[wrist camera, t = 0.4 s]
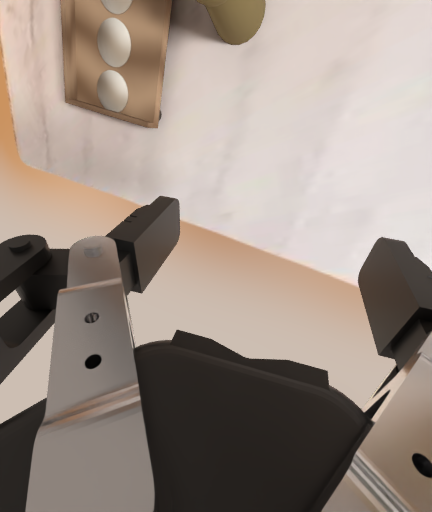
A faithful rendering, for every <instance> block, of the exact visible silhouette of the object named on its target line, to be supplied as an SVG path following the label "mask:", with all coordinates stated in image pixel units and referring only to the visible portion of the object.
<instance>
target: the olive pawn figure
mask: <svg viewBox="0 0 432 512" xmlns="http://www.w3.org/2000/svg"><path fill="white" fill-rule="evenodd" d="M196 1H197V2H199V3H201V4H203V5H205V6H206V8H207V11H208V13H209V15H210V17H211V20H212V22H213V24H214V26H215V28H216V31H217V33H218V35H219V36H220V37H221V38H222V39H223V40H224V42H227V43H229V44H231V45H240V44H242V43H245V42H247V41H248V40H249V39H251V38H252V37H253V36H254V35H255V34H256V32H257V31H258V29H259V28H260V26H261V23H262V20H263V18H264V13H265V5H266V4H265V0H196Z"/></svg>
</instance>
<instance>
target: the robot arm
mask: <svg viewBox="0 0 432 512" xmlns="http://www.w3.org/2000/svg"><path fill="white" fill-rule="evenodd" d="M179 235H180V210H179V201H178V199H175V198H170V197H164V196H159V197H158V198H157V199H156V200H155V201H154V202H153V203H152V204H150V205H145V206H143V207H141V208H138V209H136V210H135V211H134V212H133V213H132V214H131V215H130V216H128V217H127V218H126V219H125V220H124V221H122V222H121V223H120V224H119V225H118V226H117V227H115V228H114V229H113V230H112V231H111V232H110V233H108V234H107V235H106V236H92V237H87V238H84V239H81V240H79V241H77V242H76V243H74V244H73V245H72V246H71V248H70V249H49V247H48V244H47V242H46V240H45V238H43V237H41V236H38V235H22V236H18V237H14V238H12V239H8V240H6V241H4V242H2V243H1V244H0V302H1V301H2V300H3V299H4V298H6V297H7V296H8V295H9V294H10V293H11V292H13V291H14V290H15V289H16V291H17V293H18V294H19V296H20V298H21V300H20V301H19V302H18V303H17V304H15V305H14V306H13V307H12V308H11V309H10V310H9V311H8V312H6V313H5V314H4V315H3V316H2V317H1V318H0V384H1V383H2V382H3V381H4V379H5V378H6V377H7V376H8V375H9V374H10V372H12V370H13V369H14V368H15V367H16V366H17V365H18V364H19V362H20V361H21V360H22V359H23V358H24V357H25V356H26V354H27V353H28V352H29V351H30V350H31V349H32V347H34V345H35V344H36V343H37V342H38V341H39V340H40V339H41V337H42V336H43V335H44V334H45V333H46V332H47V331H48V329H49V328H50V327H51V326H52V325H53V324H54V323H55V325H54V335H53V345H52V355H51V365H50V374H49V384H48V394H47V398H45V399H43V400H41V401H40V402H38V403H36V404H34V405H33V406H31V407H29V408H28V409H26V410H24V411H22V412H21V413H19V414H17V415H15V416H13V417H12V418H10V419H9V420H6V421H5V422H3V423H2V424H0V512H432V271H431V270H430V268H429V267H428V266H427V265H425V264H424V263H423V262H422V261H421V260H419V259H418V258H417V257H414V255H413V253H412V252H411V250H410V249H409V247H408V245H407V244H406V242H404V241H399V240H394V239H389V238H383V237H381V238H379V239H378V240H377V241H376V243H375V245H374V246H373V248H372V250H371V252H370V253H369V255H368V257H367V259H366V261H365V262H364V264H363V266H362V268H361V270H360V273H359V277H358V284H359V288H360V291H361V295H362V298H363V302H364V305H365V309H366V312H367V316H368V319H369V323H370V327H371V330H372V334H373V337H374V341H375V344H376V348H377V351H378V355H380V356H384V357H388V358H392V359H395V361H396V365H395V366H394V367H393V368H392V369H391V370H390V372H389V373H388V374H387V376H386V377H385V378H384V380H383V381H382V382H381V384H380V385H379V386H378V388H377V389H376V390H375V392H374V393H373V394H372V396H371V397H370V399H369V400H368V401H367V403H366V404H365V405H364V406H363V408H362V409H360V408H359V407H358V406H357V405H356V404H355V403H354V402H353V401H352V400H350V399H349V398H348V397H346V396H345V395H344V394H343V393H341V392H339V391H338V390H337V389H335V388H334V387H332V386H330V385H329V381H328V372H327V371H326V370H322V369H319V368H315V367H311V366H308V365H304V364H300V363H296V362H293V361H289V360H272V359H249V358H245V357H243V356H241V355H239V354H238V353H235V352H234V351H232V350H230V349H228V348H227V347H225V346H223V345H221V344H219V343H218V342H216V341H214V340H212V339H209V338H205V337H202V336H198V335H195V334H191V333H187V332H184V331H180V330H176V333H175V335H174V337H173V339H172V340H164V341H155V342H150V343H147V344H144V345H140V346H138V347H136V343H135V338H134V333H133V327H132V322H131V316H130V310H129V305H128V300H127V295H128V294H129V293H130V291H134V292H138V293H143V291H144V290H145V288H146V287H147V285H148V284H149V283H150V281H151V280H152V278H153V277H154V275H155V274H156V273H157V271H158V270H159V268H160V267H161V265H162V264H163V263H164V261H165V260H166V258H167V257H168V255H169V254H170V253H171V251H172V250H173V248H174V247H175V245H176V244H177V242H178V239H179Z"/></svg>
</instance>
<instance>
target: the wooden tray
mask: <svg viewBox="0 0 432 512" xmlns="http://www.w3.org/2000/svg"><path fill="white" fill-rule="evenodd" d="M171 6H172V0H61V20H62V40H63V61H64V81H65V102H66V103H69V104H72V105H76V106H79V107H82V108H85V109H89V110H92V111H95V112H98V113H102V114H105V115H108V116H111V117H115V118H118V119H121V120H124V121H128V122H131V123H134V124H137V125H141V126H144V127H147V128H158V121H159V120H160V119H161V111H160V103H161V94H162V85H163V76H164V68H165V59H166V50H167V41H168V32H169V23H170V14H171Z"/></svg>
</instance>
